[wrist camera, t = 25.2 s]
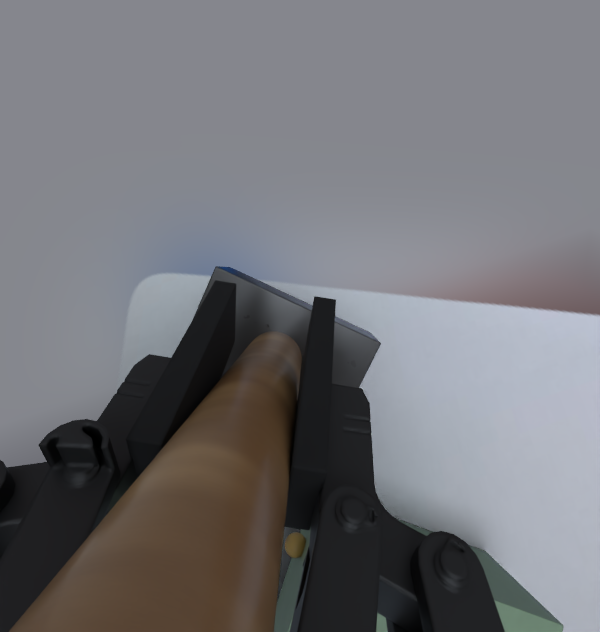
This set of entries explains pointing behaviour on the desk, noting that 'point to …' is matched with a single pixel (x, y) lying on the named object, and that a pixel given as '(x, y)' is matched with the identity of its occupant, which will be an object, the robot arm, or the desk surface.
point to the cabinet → (510, 598)
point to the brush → (207, 493)
